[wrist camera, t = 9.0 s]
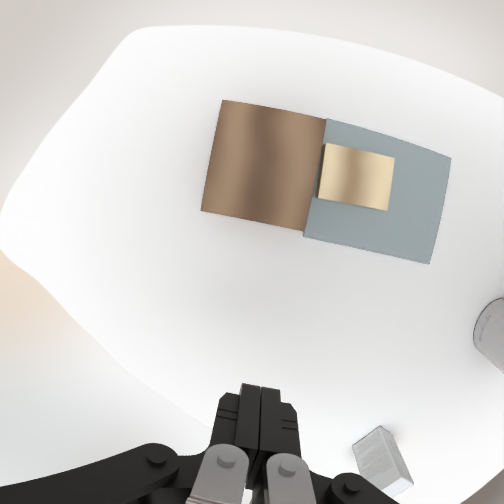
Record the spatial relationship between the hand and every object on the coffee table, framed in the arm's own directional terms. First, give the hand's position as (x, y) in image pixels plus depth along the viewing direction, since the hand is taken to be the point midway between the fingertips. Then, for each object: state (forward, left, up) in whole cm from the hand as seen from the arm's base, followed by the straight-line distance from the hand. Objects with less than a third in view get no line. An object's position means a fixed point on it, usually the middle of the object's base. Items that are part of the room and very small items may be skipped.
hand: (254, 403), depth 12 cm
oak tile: (-8, -11, -26) cm, 30 cm away
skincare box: (-24, +27, -27) cm, 45 cm away
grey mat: (-12, -10, -27) cm, 31 cm away
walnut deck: (+2, -10, -27) cm, 29 cm away
